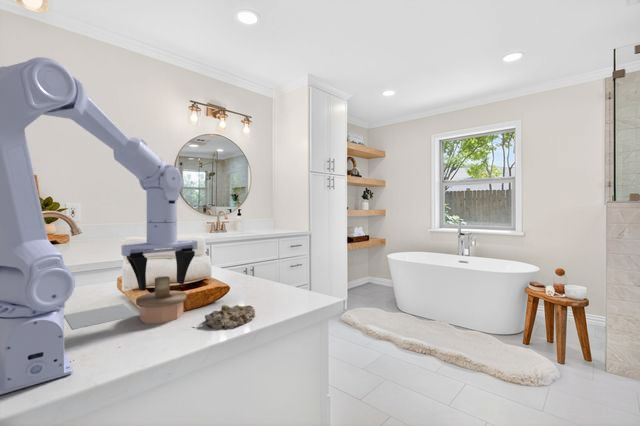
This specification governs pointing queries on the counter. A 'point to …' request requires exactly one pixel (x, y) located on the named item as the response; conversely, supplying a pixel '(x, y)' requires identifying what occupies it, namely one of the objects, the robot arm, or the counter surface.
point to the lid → (161, 295)
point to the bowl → (161, 313)
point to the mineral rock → (230, 316)
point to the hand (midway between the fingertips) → (162, 286)
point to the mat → (98, 316)
